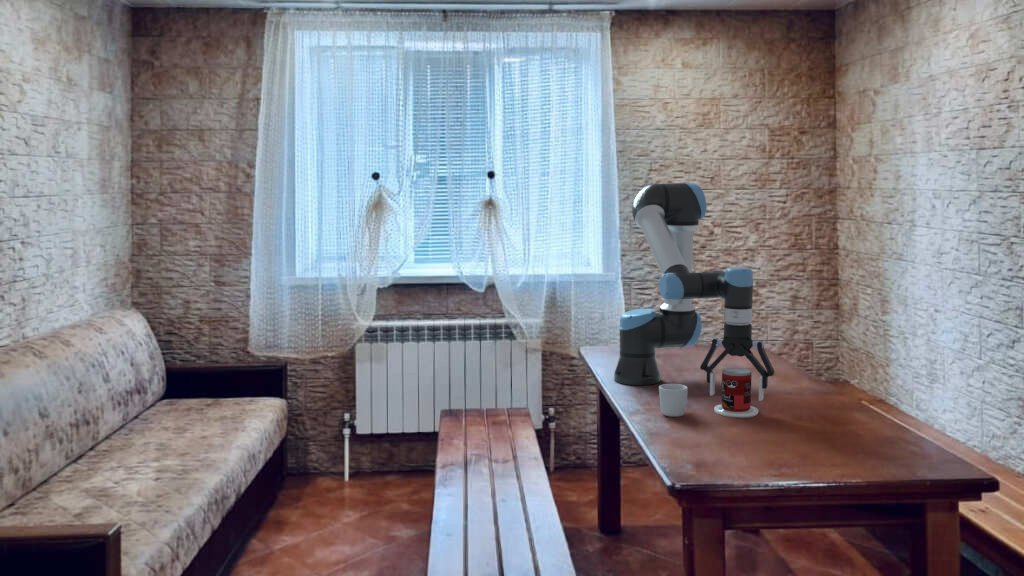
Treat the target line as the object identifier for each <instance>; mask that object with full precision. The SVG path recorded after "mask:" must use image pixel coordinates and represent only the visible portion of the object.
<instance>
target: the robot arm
mask: <svg viewBox="0 0 1024 576" xmlns="http://www.w3.org/2000/svg"><path fill="white" fill-rule="evenodd" d="M706 213H707V200H706V195H705V193H704V190H703V189H702V188H701V186H700V185H698V184H696V183H689V182H678V183H676V182H675V183H672V182H671V183H652V184H648V185H646V186H644V187H643V188H642V189H640V190H639V192H637V194H636V196H635V198H634V200H633V202H632V207H631V214H632V218H633V221H634V223H635V225H636V226H637V227H638V228H639V229H641V231H642V233H643V235H644V238H645V240H646V242H647V245H648V246H649V249H650V250H651V251H650V252H651V253H652V256H653V258H654V259H655V262H656V264H657V266H658V269H659V271H660V273H661V276H660V277H659V279H658V281H659V282H658V289H659V293H660V296H661V297H662V298H663V299H664V302H663V303H662V304H660V306H659V312H656V310H655V309H653V308H638V309H637V308H635V309H632V310H628V311H626V312H623V313H622V314H621V316H620V318H619V327H618V330H619V358H618V361H617V364H616V366H615V370H614V375H613V377H614V378H613V380H614V381H615V383H617V384H618V383H619V384H623V385H629V386H630V385H632V386H650V385H655V384H658V383H660V382H661V373H660V369H659V366H658V363H657V359H656V349H665V348H666V349H668V348H669V349H670V348H685V347H686V348H687V347H692V346H694V345H695V344H697V343H698V341H699V339H700V338H701V334H702V329H703V328H702V327H703V326H702V325H703V324H702V323H703V322H702V317H701V315H700V314H699V312H698V311H696V307H695V306H694V304H693V303H692V299H694V300H695V299H718V298H719V299H720V298H721V299H724V306H723V307H724V308H723V309H724V310H723V311H724V312H723V313H724V314H723V321H724V322H725V323H724V324H723V339H721V338H718V337H714V338H713V339H712V340H711V346H710V348H709V350H708V351H707V354H706V356H705V357H704V359H703V361H702V363H701V364H700V367H699V369H700V370H701V371H704V372H706V383H707V384H709V396H711V397H712V396H714V395H715V394H716V371H714V370H715V368H716V367H717V366H718V365H719V364H720V363H721V362H722V361H723V360H724V358H725V357H726V356H727V355H730V356H731V357H734V356H735V357H745V358H747V359H748V361H749V362H750V363H751V364H752V366H753V367H754V368H755V369H756V370H757V372H758V373H759V375H760V376H759V378H758V402H759V401H760V402H762V401H763V400H764V394H765V393H764V392H765V391H764V390H766V389H767V388H768V383H769V382H768V379H769V377H772V376H775V375H774V374H775V372H776V371H775V370H774V367H773V365H772V363H771V361H770V358H769V356H768V354H767V352H766V350H765V347H764V341H763V340H759V341H753V338H752V337H753V336H752V334H753V333H752V332H753V331H752V330H753V327H752V324H751V323H752V322H753V295H754V294H753V293H754V291H753V290H754V278H753V270H752V269H751V268H749V267H739V266H738V267H737V266H735V267H727V268H726V269H725V270H724V271H723V270H711V271H706V272H693V257H694V256H693V254H694V252H693V251H694V250H693V249H694V232H695V231H694V230H695V229H696V228H698V226H699V223H700V221H701V220H702V219H703V218H705V215H706ZM721 345H722V346H723V348H724V350H723V351H722V352H721V354H719V356H718V357H717V358H716V359H715V360H713V362H712V363H711V364H710V365H709V363H710V362H711V359H712V358H713V356H714V354H715V352H716V351H717V348H718V347H720V346H721ZM753 347H754V348H755V350H757V353H758V354H759V356H760V359H761V362H762V363H763V365H764V366H763V365H762V363H760V361H759V360H758V359H757V358H756V356H755V355H754V353H753V351H752V350H751V349H752V348H753ZM708 365H709V366H708Z"/></svg>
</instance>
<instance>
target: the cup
mask: <svg viewBox="0 0 1024 576" xmlns="http://www.w3.org/2000/svg"><path fill="white" fill-rule="evenodd" d="M658 393H659V404H660V411H661V413H662V415H664V416H666V417H671V418H673V417H674V418H677V417H682V416H685V415H684V414H685V413H686V408H687V400H688V393H689V387H688V386H686V385H684V384H680V383H664V384H661V385H659V386H658Z"/></svg>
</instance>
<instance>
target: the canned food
mask: <svg viewBox="0 0 1024 576" xmlns="http://www.w3.org/2000/svg"><path fill="white" fill-rule="evenodd" d="M751 397H752V371H751V370H750V369H748V368H743V367H727V368H724V369H722V371H721V404H722V408H723V409H724V410H727V411H732V412H745V411H748V410H750V407H751V406H752V403H751V399H752V398H751Z"/></svg>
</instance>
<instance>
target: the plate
mask: <svg viewBox="0 0 1024 576" xmlns="http://www.w3.org/2000/svg"><path fill="white" fill-rule="evenodd" d="M713 410H714V413H715V414H717V415H720V416H723V417H728V418H738V419H739V418H744V419H745V418H752V417H756V416H757V415H759V408H757V407H755V406H753V405H751V407H750V410H748V411H745V412H732V411H727V410H724V409H723V408H722V403H721V404H717V405H715V406H714V409H713Z"/></svg>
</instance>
